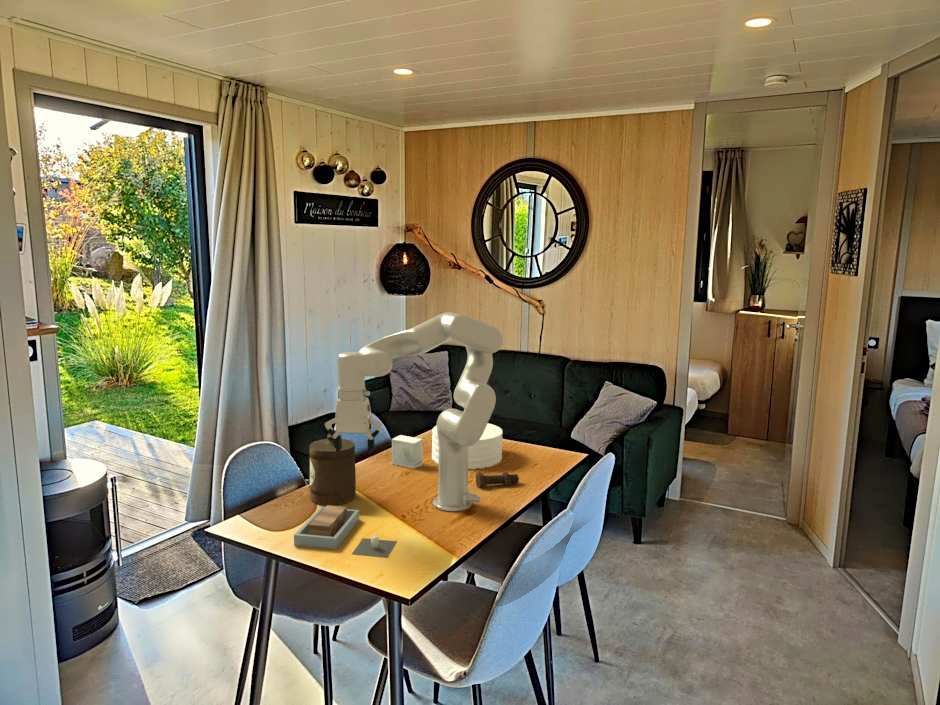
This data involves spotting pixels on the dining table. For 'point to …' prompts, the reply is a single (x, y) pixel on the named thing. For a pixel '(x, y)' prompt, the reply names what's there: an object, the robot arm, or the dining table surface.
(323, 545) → the tray
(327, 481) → the wooden container
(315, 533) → the brown rectangular block
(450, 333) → the robot arm
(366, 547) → the stud base
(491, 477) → the bolt
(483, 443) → the plate stack
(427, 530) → the dining table surface
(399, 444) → the skincare box
